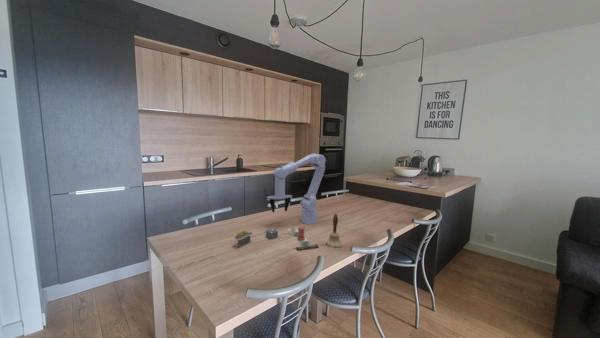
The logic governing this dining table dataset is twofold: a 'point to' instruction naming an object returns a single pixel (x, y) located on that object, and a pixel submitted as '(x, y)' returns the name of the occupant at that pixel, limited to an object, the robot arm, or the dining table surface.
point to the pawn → (301, 233)
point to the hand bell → (334, 235)
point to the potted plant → (243, 238)
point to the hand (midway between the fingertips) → (279, 211)
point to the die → (272, 234)
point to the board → (305, 244)
